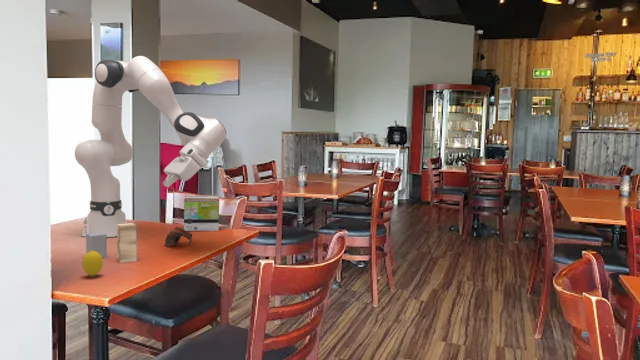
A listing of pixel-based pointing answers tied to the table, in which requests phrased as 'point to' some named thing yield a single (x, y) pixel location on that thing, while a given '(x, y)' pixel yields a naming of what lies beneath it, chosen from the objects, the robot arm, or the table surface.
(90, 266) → the lemon
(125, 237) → the birch block
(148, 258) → the table surface
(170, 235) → the dark brown arched figure
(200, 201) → the tea box
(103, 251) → the grey block
